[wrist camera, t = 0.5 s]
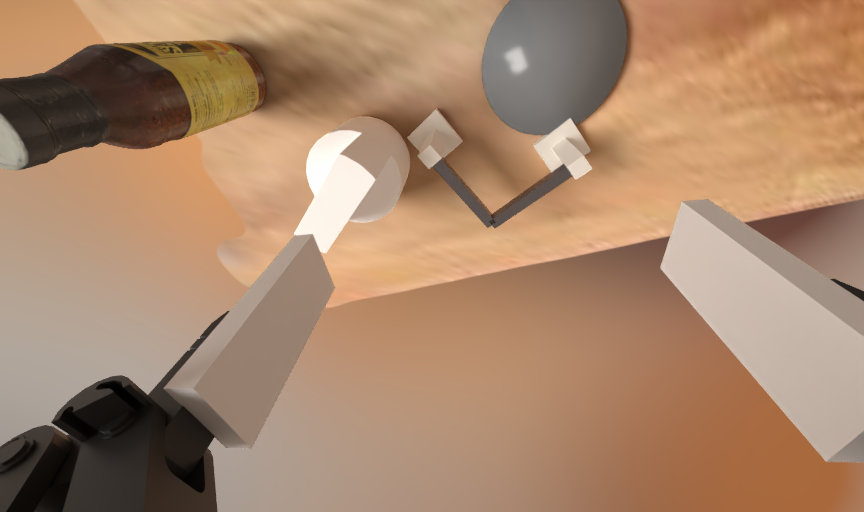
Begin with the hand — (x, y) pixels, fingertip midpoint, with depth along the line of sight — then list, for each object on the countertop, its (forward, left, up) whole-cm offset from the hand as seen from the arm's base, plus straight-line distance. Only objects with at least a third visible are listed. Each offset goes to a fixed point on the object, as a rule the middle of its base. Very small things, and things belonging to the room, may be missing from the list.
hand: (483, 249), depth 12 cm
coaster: (+1, +8, -23) cm, 25 cm away
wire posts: (+3, 0, -23) cm, 24 cm away
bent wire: (+4, 0, -18) cm, 19 cm away
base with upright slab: (-4, -11, -24) cm, 26 cm away
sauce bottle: (-18, -15, -24) cm, 33 cm away
